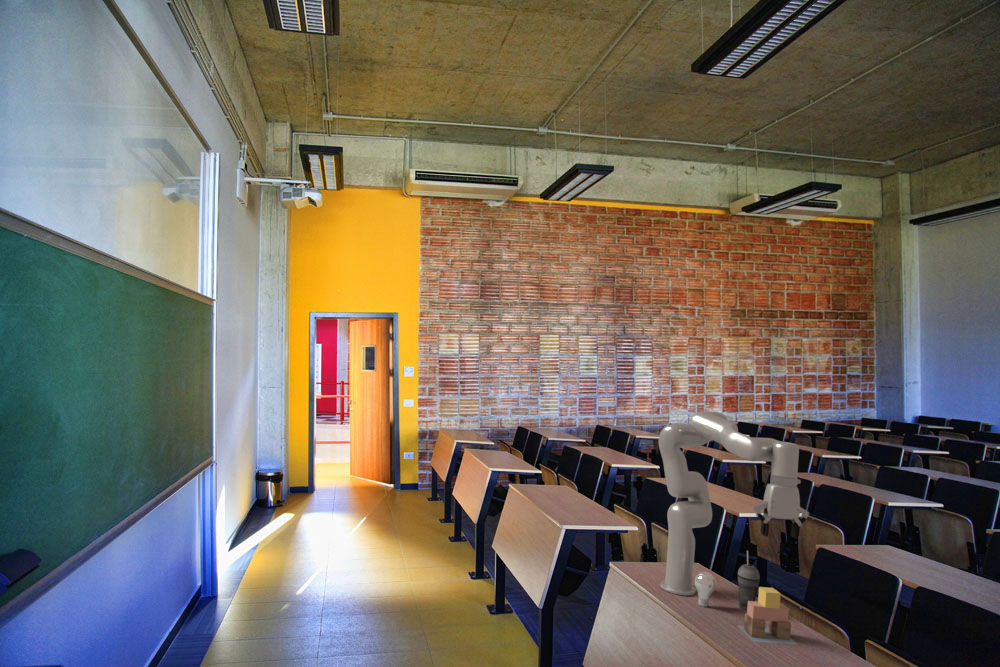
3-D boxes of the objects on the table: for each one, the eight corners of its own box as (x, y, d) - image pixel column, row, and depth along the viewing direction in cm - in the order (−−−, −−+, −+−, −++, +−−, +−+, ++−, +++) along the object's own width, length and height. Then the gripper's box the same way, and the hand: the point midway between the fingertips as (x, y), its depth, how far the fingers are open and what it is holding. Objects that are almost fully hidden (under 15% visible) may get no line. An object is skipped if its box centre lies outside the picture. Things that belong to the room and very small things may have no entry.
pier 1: (743, 629, 189) (745, 613, 189) (756, 630, 189) (757, 614, 189) (751, 637, 184) (752, 620, 184) (764, 638, 184) (765, 621, 184)
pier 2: (768, 631, 189) (770, 615, 189) (781, 632, 189) (782, 616, 189) (777, 638, 184) (778, 622, 184) (789, 639, 184) (791, 623, 184)
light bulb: (691, 609, 204) (694, 572, 204) (692, 602, 210) (695, 567, 211) (713, 613, 201) (716, 577, 202) (713, 606, 208) (716, 571, 208)
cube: (757, 601, 189) (759, 586, 189) (771, 602, 189) (772, 587, 189) (765, 607, 184) (766, 592, 185) (779, 608, 185) (780, 593, 185)
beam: (781, 616, 189) (782, 603, 189) (788, 622, 185) (789, 608, 185) (746, 613, 189) (747, 600, 189) (752, 619, 185) (753, 606, 185)
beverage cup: (746, 616, 202) (750, 555, 203) (729, 607, 208) (734, 548, 209) (762, 614, 205) (766, 554, 205) (745, 605, 211) (750, 547, 212)
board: (736, 627, 191) (736, 625, 192) (779, 630, 192) (779, 628, 192) (752, 644, 180) (752, 641, 181) (798, 647, 181) (798, 644, 181)
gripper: (803, 481, 195) (799, 535, 194) (751, 477, 194) (747, 531, 193) (816, 486, 187) (813, 542, 187) (762, 481, 186) (758, 538, 186)
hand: (779, 536), depth 190 cm, fingers open, 9 cm apart
